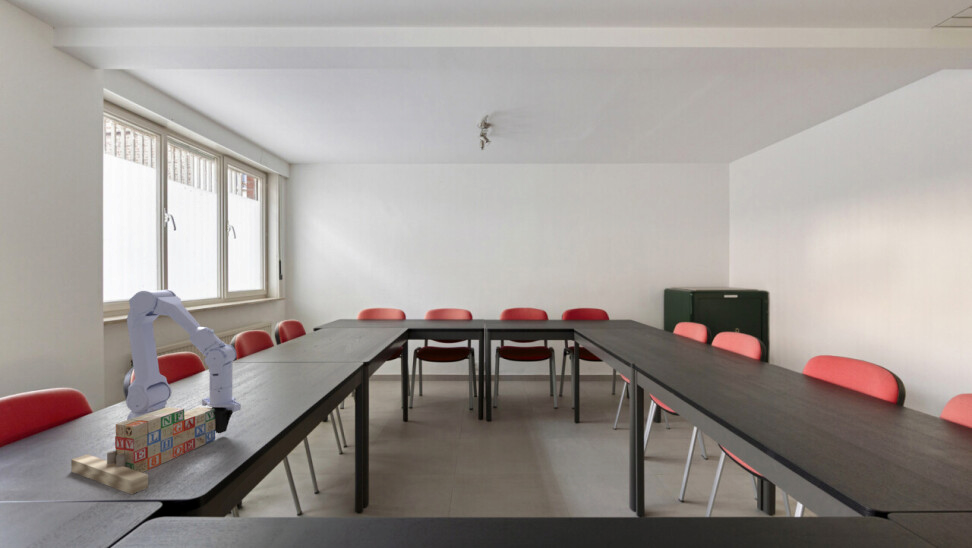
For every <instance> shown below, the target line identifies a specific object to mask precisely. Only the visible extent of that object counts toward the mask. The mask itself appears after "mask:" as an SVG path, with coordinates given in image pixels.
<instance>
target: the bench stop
mask: <svg viewBox="0 0 972 548" xmlns="http://www.w3.org/2000/svg"><path fill="white" fill-rule="evenodd" d="M70 465H71V471H70V472H72V473H74V474H77V475H79V476H82V477H85V478H88V479H89V478H90V480H92V481H95V482H97V481H98V483H100V484H103V485H106V486H108V487H111V488H113V489H116V490H118V491H121V490H122V491H121V492H124V493H127V494H130V495H134V493H135V494H137V493H138V491H139V492H142V491H144V490H145V489H149V474H148V473H145V472H139V471H136V470H133V469H130V468H127V467H125V466H126V454H119V455H117V456H116V450H110V451H108V452H107V453H106V459H102V458H101V457H100V458H99V457H97V456H93V455H91V454H89V453H88V454H84V455H81V456H79V457H74V458H72V459H71V463H70ZM143 489H144V490H143ZM141 490H142V491H141ZM136 492H137V493H136Z"/></svg>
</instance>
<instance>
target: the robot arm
mask: <svg viewBox="0 0 972 548" xmlns="http://www.w3.org/2000/svg"><path fill="white" fill-rule="evenodd" d="M128 304H129V310H128V314H127V317H126V322H127V323H126V324H127V329H128V337H129V343H130V353H131V359H132V365H133V366H132V367H133V373H134V380H133V381H132V382H131V384H130V385H129V386H128V387H127V396H126V399H125V404H126V406H127V408H128V409H129V410H130V411H129V414H128V415H127V418H126V420H130V419H133V418H136V417H139V416H142V415H145V414H147V413H151V412H154V411H157V410H160V409H163V408H166V405H168V403H167V401H168V400H169V399H170V398H171V396H172V392H173V391H172V387H171V386H170V384H169V383H168V381H167V380H168V379H167V377H166V376H165V375H162V374H161V373H160V368H159V360H158V353H157V345H156V340H155V331H154V324H153V323H154V321H155V320H156V319H157V318H158V317H159V316H167V317H170V319H172V320H173V321H174V322H175V323H176V324H177V325H179V326H180V327H181V328H182V329H183V330H184V331H185V332H186V333H188V334H189V337H188V338H189V339H188V341H189V342H190V343H191V344H192V345H193V346H194V347H196V349H197V350H199V352H200V353H201V354H202V355H203V356H204V357H205V358H204V359H203V360H204V363H205V364H206V366H207V367H208V372H209V397H205V398H202V399H201V406H202V407H206V406H208V408H213V409H215V411H214V412H213V413H214V415H215V434H222V433H225V432H227V430H228V426H229V422H230V419H231V417H232V415H233V413H234V412H237V411H240V410H242V409H241V407H242V406H241V405H242V404H241V402H237V401H236V400H237V399H236V398H237V397H233V361H235V360H236V358H237V351H236V349H235V347H234V346H233V345H231V344H226V342H225V341H222V340H221V339H220V338H219V337H218V336H217V334H215V330H214V328H209V327H206V326H201V325H200V324H199V322H198V320H196V319H195V317H194V316H193V315H192V314H191V313H190V311H188V310H187V308H186V307H185V306H184V305H183V303H182V299H181V298H180V297H179V296H177V294H176V293H175V292H174V291H173V290H171V289H161V290H160V289H159V290H140V291H137V292H136V293H135V294H133V296H132V297H130V299H129V300H128Z"/></svg>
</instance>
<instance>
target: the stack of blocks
mask: <svg viewBox="0 0 972 548" xmlns="http://www.w3.org/2000/svg"><path fill="white" fill-rule="evenodd" d="M214 411H215V409H213V408H212V407H203V406H202V407H201V406H198V407H195V408H192V409H189V410H186V411H185V408H181V407H166V406H165V408H163V409H160V410H157V411H154V412H151V413H147V414H145V415H142V416H139V417H136V418H133V419H130V420H127V419H126V420H124V421H120V422H117V423H115V436H114V442H115V443H114V447H115V451H116V456H117V455H119V454H126V466H125V467H127V468H130V469H133V470H136V471H139V472H142V473H145V472H146V471H147V472H148V471H149V470H151V469H153V468H156V467H159V466H160V465H162V464H164V463H166V462H167V463H168V461H170V460H173V459H176V458H177V457H180V456H181V455H184V454H186V453H188V452H190V451H192V450H195V449H197V448H199V447H201V446H203V445H206V444H208V443H210V442H213V441H215V440H216V431H215V415H214V413H213V412H214Z"/></svg>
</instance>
